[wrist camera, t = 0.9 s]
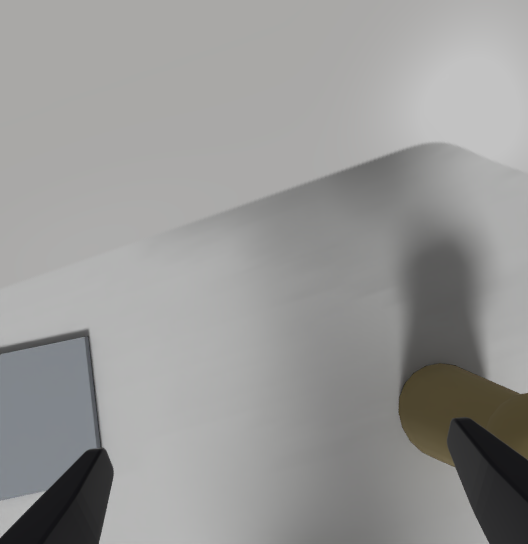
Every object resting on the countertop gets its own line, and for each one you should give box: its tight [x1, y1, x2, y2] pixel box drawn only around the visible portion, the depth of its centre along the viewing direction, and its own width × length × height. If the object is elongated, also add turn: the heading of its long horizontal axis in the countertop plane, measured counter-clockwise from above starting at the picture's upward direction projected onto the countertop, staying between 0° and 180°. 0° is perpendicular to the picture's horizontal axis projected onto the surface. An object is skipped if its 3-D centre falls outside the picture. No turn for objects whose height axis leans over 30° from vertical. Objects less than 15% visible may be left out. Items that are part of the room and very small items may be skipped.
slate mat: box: [0, 337, 101, 500], centre depth 23 cm, size 9×9×1 cm
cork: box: [399, 363, 528, 467], centre depth 18 cm, size 6×6×11 cm
